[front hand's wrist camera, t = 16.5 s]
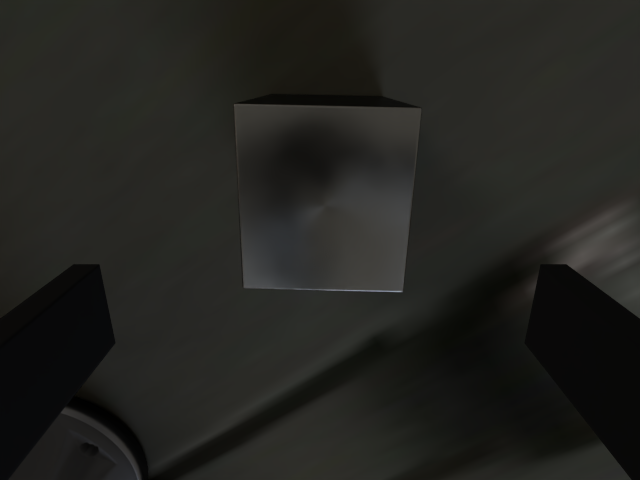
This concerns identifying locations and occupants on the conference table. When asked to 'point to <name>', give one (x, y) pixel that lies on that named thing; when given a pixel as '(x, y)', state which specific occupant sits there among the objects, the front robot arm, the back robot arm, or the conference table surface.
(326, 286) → the block
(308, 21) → the conference table surface
